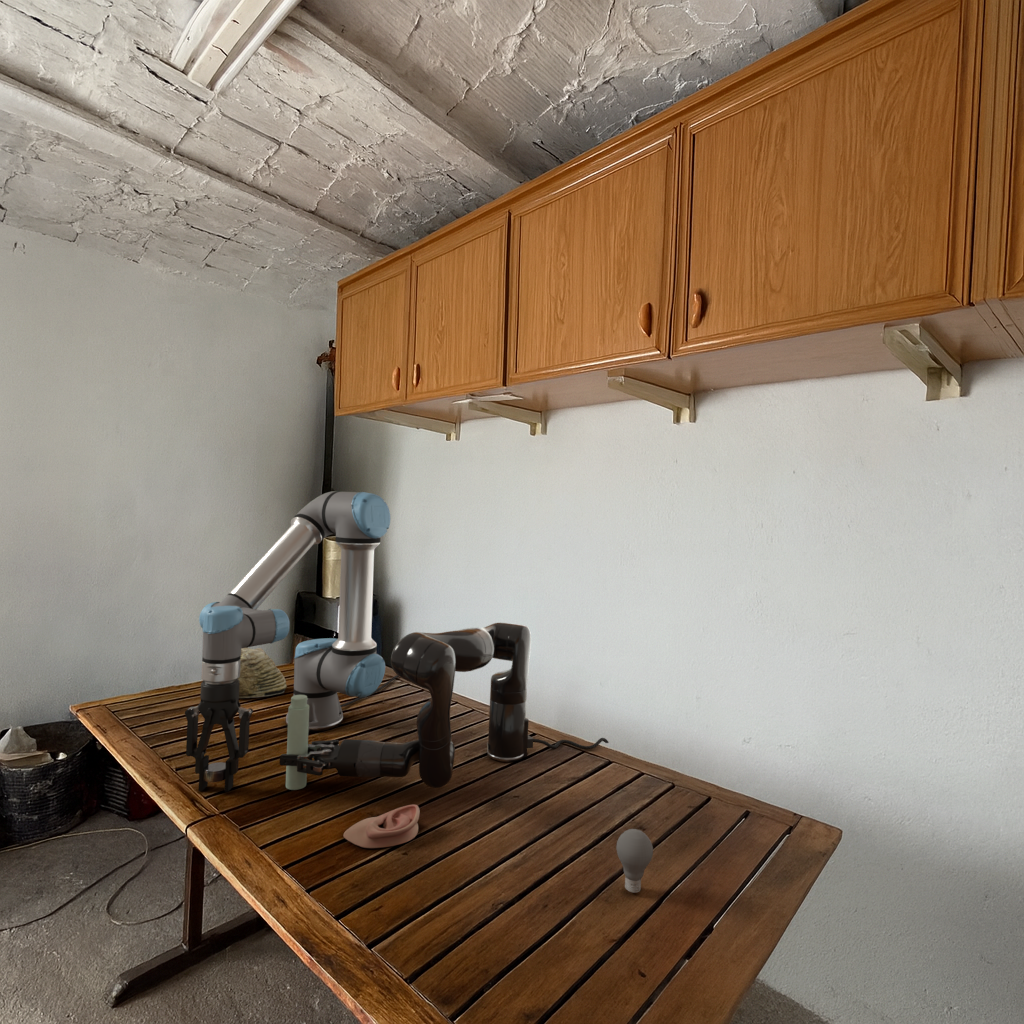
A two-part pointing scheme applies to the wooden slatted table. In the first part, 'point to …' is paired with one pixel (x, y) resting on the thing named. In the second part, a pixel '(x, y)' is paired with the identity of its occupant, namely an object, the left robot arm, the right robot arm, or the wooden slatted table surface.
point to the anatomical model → (385, 828)
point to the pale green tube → (297, 739)
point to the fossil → (259, 675)
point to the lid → (215, 772)
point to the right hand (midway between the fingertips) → (284, 755)
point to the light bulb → (634, 857)
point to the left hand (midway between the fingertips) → (215, 788)
